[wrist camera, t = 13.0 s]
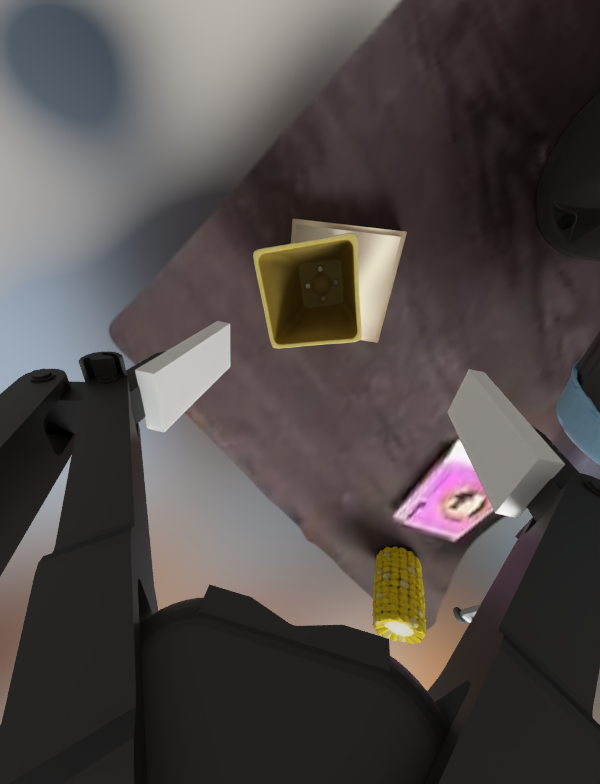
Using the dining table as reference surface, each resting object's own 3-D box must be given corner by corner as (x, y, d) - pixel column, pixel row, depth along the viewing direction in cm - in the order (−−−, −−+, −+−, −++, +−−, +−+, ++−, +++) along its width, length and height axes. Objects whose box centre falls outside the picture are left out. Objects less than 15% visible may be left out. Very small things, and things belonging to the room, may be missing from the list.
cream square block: (402, 232, 31) (407, 231, 28) (376, 333, 37) (377, 343, 34) (299, 220, 32) (291, 218, 29) (290, 320, 38) (283, 328, 35)
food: (413, 564, 63) (369, 552, 65) (431, 548, 55) (380, 534, 57) (417, 652, 53) (364, 635, 54) (440, 647, 44) (377, 627, 46)
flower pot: (278, 246, 30) (250, 250, 23) (358, 232, 28) (357, 231, 21) (291, 323, 35) (271, 349, 27) (361, 316, 32) (362, 342, 25)
